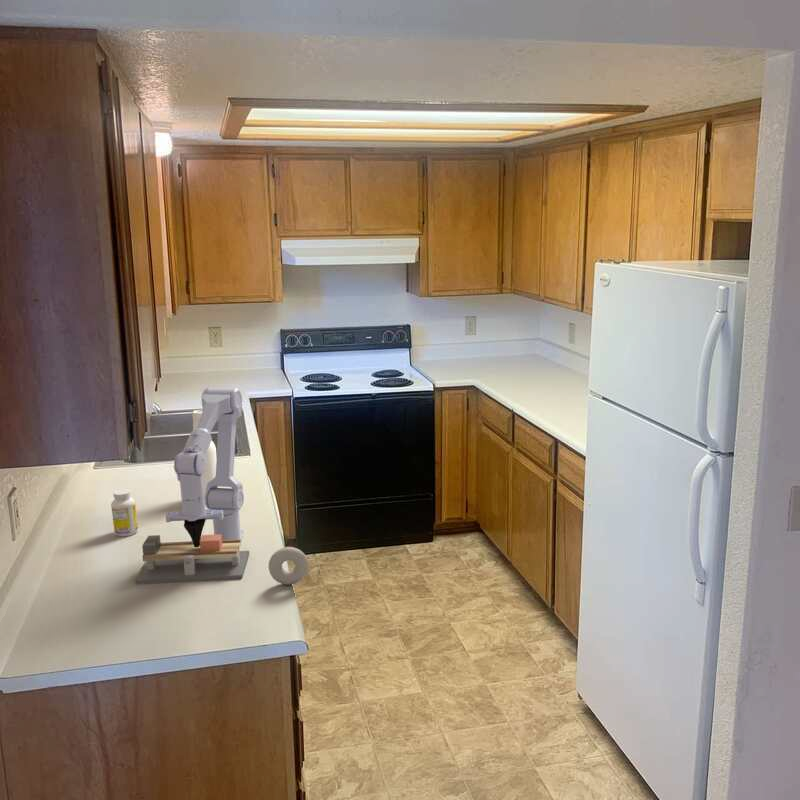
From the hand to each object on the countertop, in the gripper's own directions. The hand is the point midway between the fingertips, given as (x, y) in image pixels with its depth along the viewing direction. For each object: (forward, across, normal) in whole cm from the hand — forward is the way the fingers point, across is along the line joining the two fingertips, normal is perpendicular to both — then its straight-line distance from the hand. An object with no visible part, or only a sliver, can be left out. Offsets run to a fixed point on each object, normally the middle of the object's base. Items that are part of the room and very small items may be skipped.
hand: (197, 545), depth 210 cm
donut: (+7, +25, -12) cm, 28 cm away
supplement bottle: (+7, -26, +27) cm, 38 cm away
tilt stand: (+6, -1, 0) cm, 7 cm away
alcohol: (+7, -8, +52) cm, 53 cm away
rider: (+1, +4, 0) cm, 4 cm away
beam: (+1, -1, 0) cm, 2 cm away
